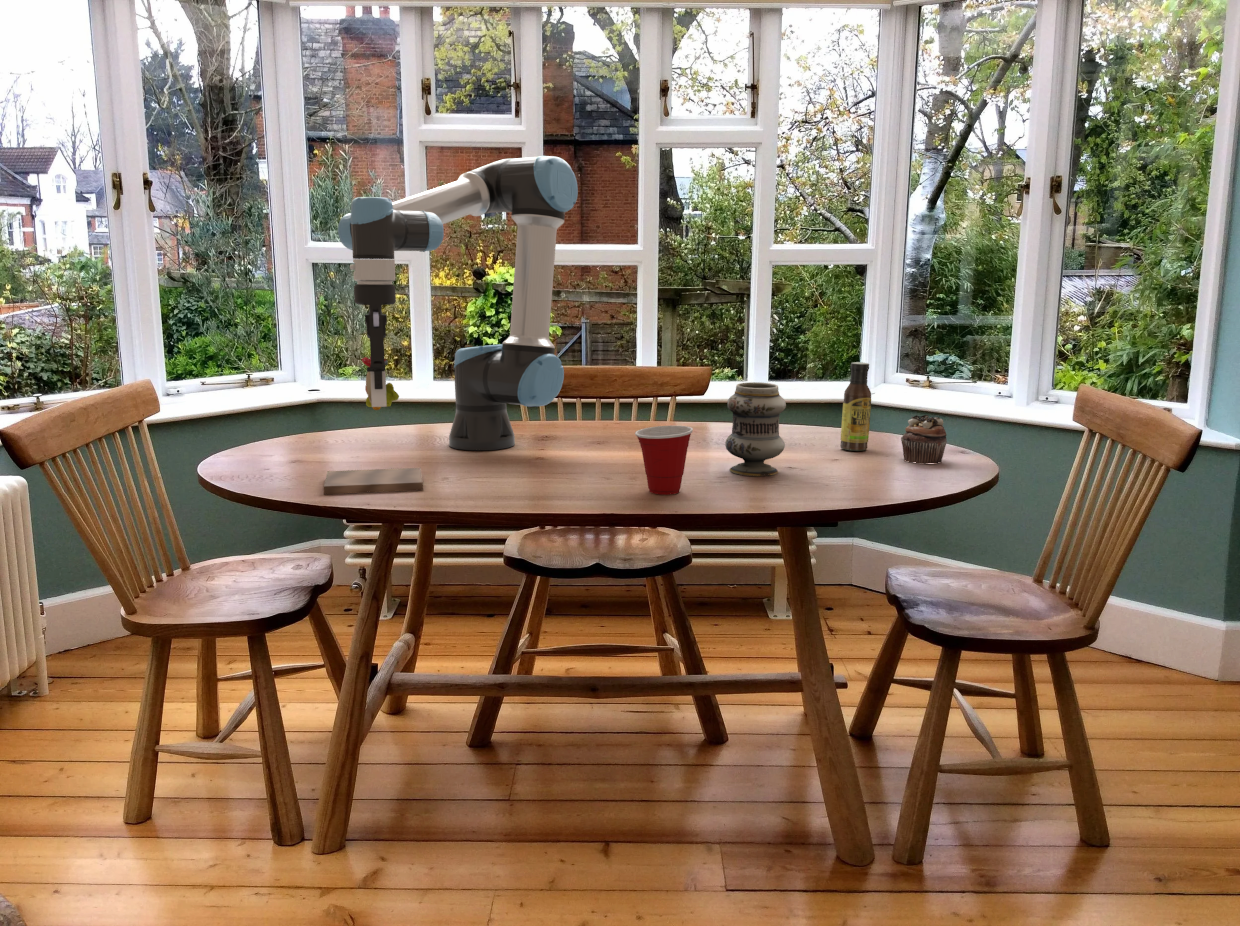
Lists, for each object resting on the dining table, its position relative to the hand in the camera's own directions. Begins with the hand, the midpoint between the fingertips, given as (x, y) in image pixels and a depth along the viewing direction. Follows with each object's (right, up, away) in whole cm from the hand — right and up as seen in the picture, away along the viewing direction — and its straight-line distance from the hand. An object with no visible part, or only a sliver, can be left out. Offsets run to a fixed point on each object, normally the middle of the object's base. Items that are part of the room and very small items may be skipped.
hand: (378, 402), depth 197 cm
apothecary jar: (+73, -13, +16) cm, 76 cm away
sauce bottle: (+99, -9, +41) cm, 108 cm away
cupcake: (+112, -11, +29) cm, 116 cm away
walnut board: (-2, -16, +3) cm, 16 cm away
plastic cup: (+54, -17, -2) cm, 56 cm away
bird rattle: (0, -1, 0) cm, 1 cm away
